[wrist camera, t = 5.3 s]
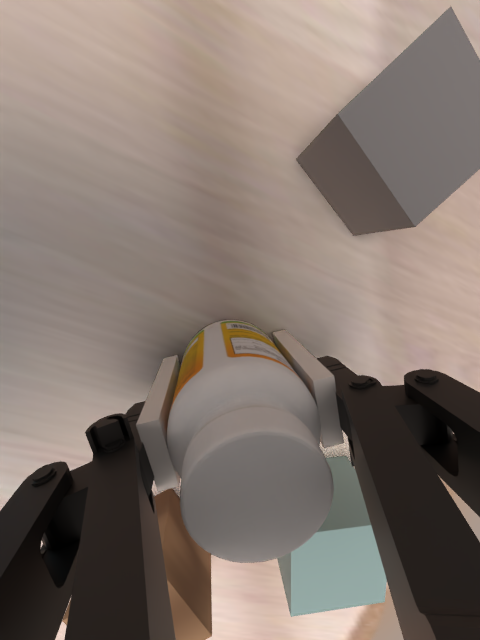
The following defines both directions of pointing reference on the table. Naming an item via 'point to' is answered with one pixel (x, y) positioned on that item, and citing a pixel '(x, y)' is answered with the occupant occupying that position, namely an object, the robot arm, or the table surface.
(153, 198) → the table surface
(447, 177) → the charcoal cube
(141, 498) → the robot arm
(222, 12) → the table surface
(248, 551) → the supplement bottle
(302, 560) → the teal cube
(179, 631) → the walnut cube
